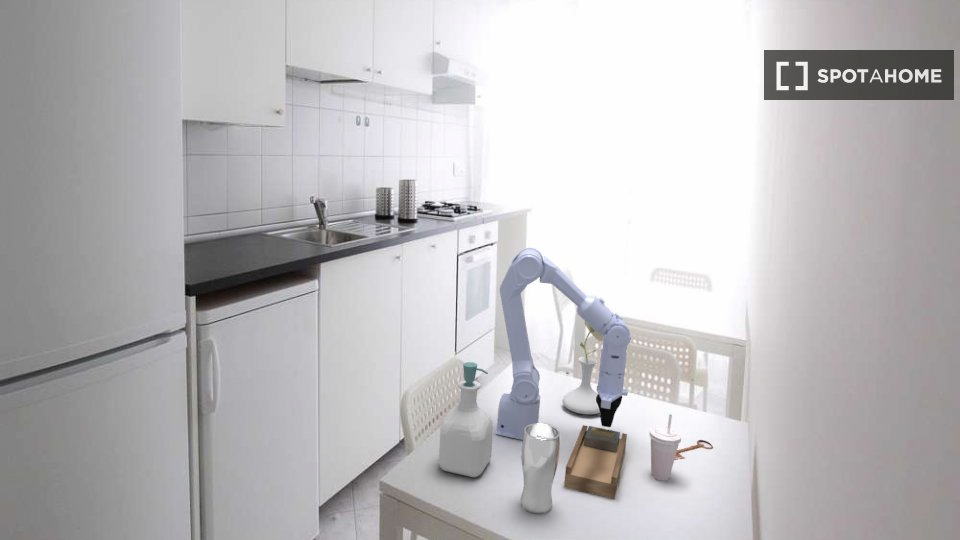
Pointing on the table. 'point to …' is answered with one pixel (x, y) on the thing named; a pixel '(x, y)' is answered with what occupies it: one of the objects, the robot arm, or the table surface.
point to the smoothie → (663, 450)
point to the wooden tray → (594, 467)
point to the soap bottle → (466, 431)
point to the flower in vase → (584, 384)
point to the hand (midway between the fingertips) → (606, 425)
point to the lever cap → (602, 439)
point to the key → (692, 448)
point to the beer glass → (539, 466)
